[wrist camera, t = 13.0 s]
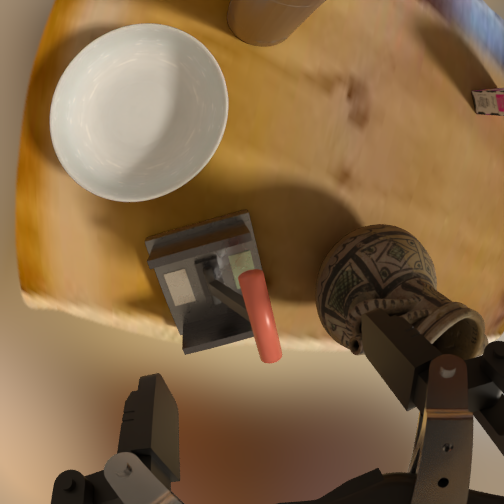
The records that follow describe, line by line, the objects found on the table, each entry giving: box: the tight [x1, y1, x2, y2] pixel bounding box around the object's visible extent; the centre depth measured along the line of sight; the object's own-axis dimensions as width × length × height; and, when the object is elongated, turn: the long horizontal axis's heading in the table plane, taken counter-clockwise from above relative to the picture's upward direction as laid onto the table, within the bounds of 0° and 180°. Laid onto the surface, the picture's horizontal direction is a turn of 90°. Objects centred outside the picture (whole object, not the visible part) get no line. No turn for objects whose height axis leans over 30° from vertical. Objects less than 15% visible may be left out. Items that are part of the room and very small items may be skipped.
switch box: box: [145, 210, 262, 355], centre depth 41 cm, size 14×15×8 cm
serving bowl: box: [50, 23, 228, 202], centre depth 32 cm, size 21×21×7 cm
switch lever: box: [203, 266, 282, 363], centre depth 35 cm, size 2×10×13 cm, turn 13°
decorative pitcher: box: [315, 224, 488, 360], centre depth 36 cm, size 22×18×25 cm
